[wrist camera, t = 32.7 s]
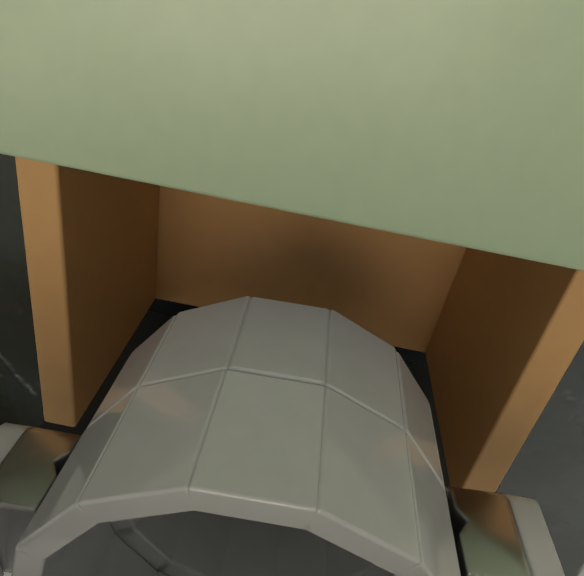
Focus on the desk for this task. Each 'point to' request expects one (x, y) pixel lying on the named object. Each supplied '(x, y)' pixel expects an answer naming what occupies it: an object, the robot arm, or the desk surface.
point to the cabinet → (318, 108)
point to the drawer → (292, 301)
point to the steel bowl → (251, 457)
